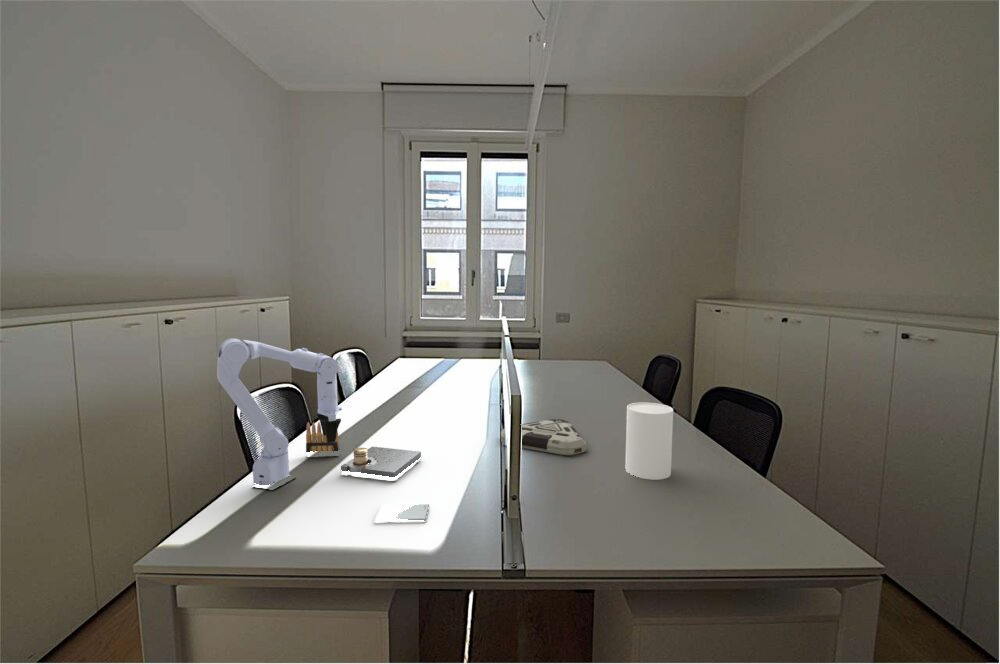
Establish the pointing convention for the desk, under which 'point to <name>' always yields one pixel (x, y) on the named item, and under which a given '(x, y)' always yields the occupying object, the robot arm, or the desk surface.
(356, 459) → the cylinder
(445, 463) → the desk surface
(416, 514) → the hard drive
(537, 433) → the device
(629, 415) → the canister
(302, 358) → the robot arm
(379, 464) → the grey plate with hole
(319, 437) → the ammunition clip
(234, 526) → the desk surface
